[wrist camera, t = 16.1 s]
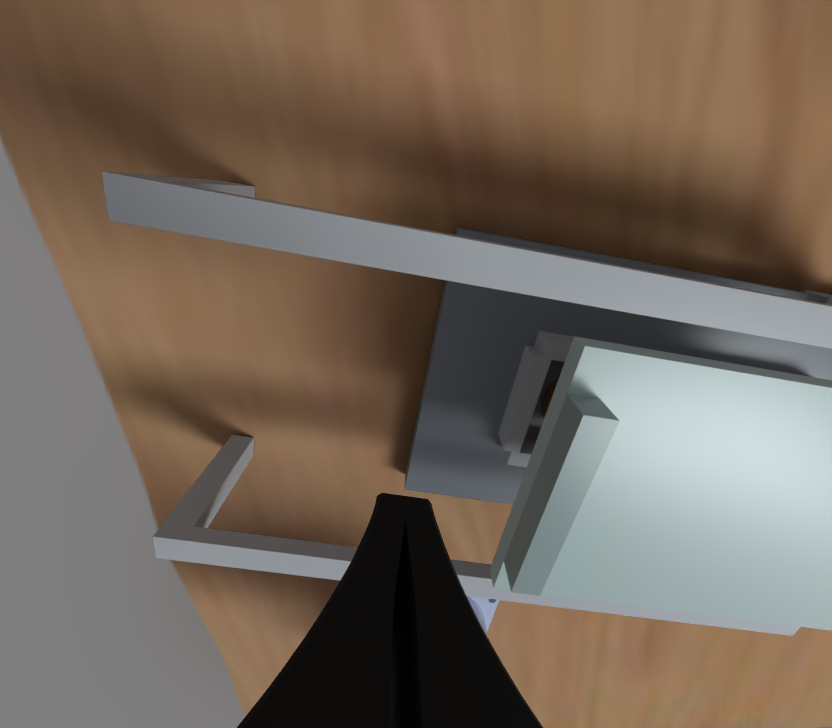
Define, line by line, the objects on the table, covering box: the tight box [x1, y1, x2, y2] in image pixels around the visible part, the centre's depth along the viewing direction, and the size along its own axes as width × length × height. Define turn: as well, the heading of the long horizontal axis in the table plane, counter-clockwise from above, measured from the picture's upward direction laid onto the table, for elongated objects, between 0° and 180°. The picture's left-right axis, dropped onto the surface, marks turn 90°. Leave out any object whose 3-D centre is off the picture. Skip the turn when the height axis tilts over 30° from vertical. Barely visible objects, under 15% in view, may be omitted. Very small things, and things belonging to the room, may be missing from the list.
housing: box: [102, 171, 832, 636], centre depth 17 cm, size 14×30×7 cm, turn 80°
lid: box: [490, 336, 832, 630], centre depth 13 cm, size 10×15×2 cm, turn 80°
